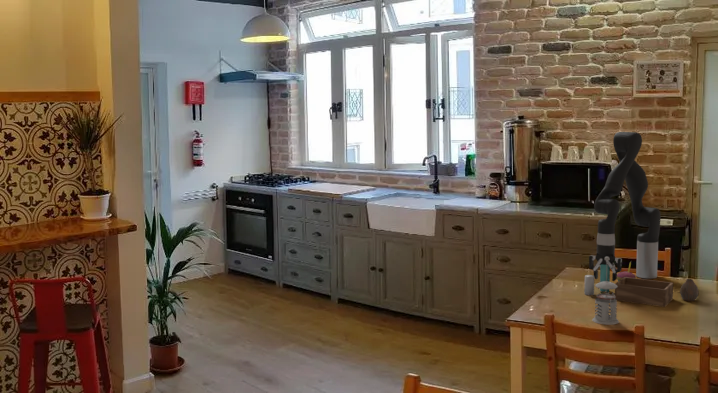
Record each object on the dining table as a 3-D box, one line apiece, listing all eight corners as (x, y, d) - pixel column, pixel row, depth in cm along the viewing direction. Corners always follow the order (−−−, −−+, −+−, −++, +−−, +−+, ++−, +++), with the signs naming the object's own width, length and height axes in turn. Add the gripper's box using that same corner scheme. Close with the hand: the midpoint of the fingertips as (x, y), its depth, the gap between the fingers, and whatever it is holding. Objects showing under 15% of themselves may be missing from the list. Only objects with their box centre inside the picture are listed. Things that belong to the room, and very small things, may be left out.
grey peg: (586, 292, 314) (586, 274, 313) (595, 293, 312) (595, 275, 311) (583, 294, 311) (583, 276, 310) (592, 295, 308) (592, 277, 307)
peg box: (623, 292, 312) (624, 276, 311) (672, 298, 301) (673, 282, 300) (614, 299, 301) (615, 283, 300) (664, 306, 289) (665, 290, 289)
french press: (613, 316, 278) (614, 253, 275) (625, 325, 266) (627, 260, 263) (588, 317, 277) (589, 254, 274) (599, 326, 266) (600, 260, 263)
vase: (700, 302, 295) (700, 281, 294) (682, 301, 296) (683, 281, 295) (695, 298, 302) (696, 277, 301) (678, 297, 303) (679, 277, 302)
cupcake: (632, 284, 325) (633, 259, 324) (638, 289, 317) (638, 263, 315) (613, 284, 326) (613, 259, 325) (618, 289, 318) (618, 263, 316)
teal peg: (601, 289, 319) (602, 262, 317) (610, 290, 317) (611, 263, 315) (598, 291, 316) (599, 264, 314) (607, 292, 313) (608, 265, 312)
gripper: (625, 243, 312) (623, 280, 314) (592, 240, 321) (591, 276, 323) (620, 246, 306) (619, 283, 308) (586, 243, 315) (585, 279, 317)
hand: (604, 279), depth 315 cm, fingers open, 7 cm apart
